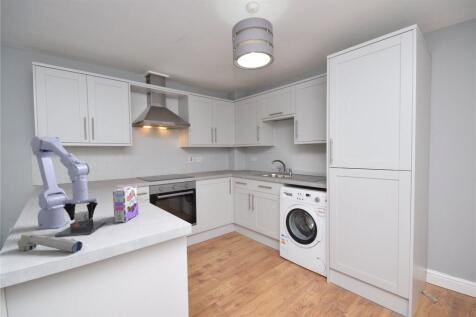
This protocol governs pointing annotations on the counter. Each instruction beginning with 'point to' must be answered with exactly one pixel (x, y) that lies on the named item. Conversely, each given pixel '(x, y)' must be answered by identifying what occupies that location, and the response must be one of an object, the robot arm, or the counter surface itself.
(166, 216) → the counter surface
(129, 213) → the candy box
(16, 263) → the counter surface
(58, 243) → the grey elongated piece
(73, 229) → the stand
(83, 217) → the column
